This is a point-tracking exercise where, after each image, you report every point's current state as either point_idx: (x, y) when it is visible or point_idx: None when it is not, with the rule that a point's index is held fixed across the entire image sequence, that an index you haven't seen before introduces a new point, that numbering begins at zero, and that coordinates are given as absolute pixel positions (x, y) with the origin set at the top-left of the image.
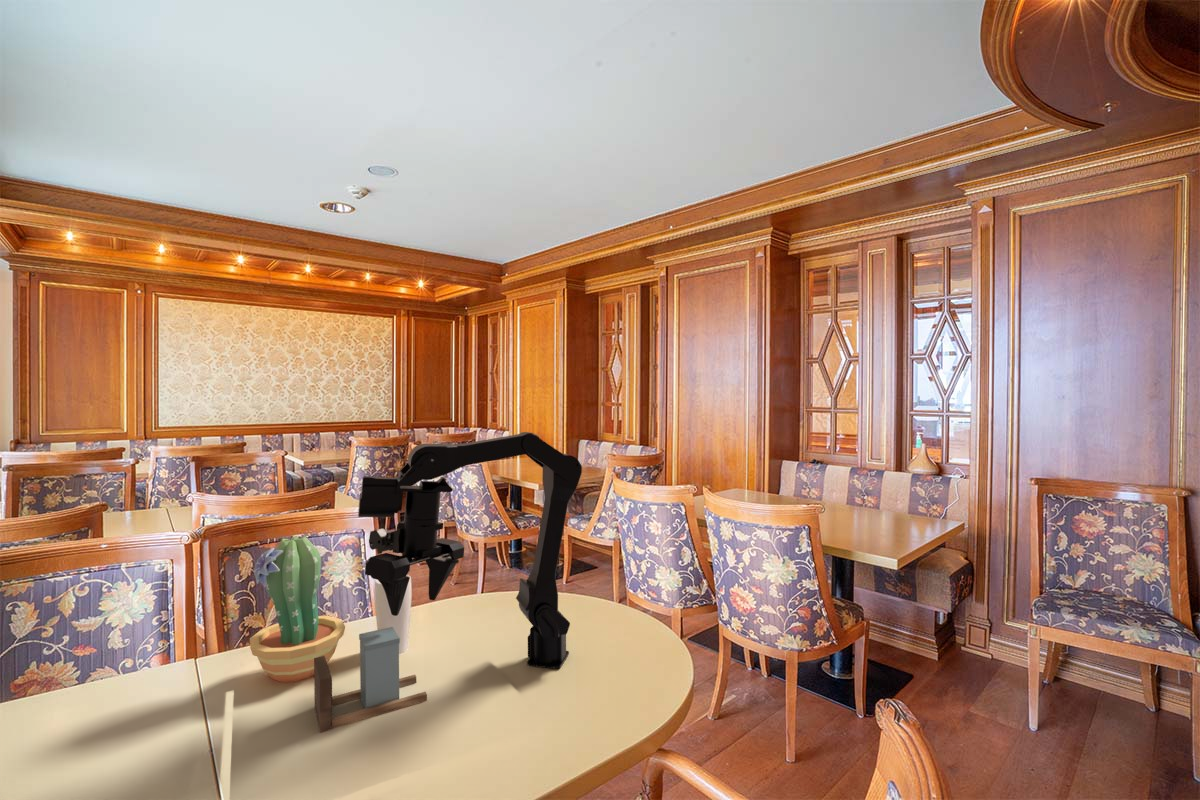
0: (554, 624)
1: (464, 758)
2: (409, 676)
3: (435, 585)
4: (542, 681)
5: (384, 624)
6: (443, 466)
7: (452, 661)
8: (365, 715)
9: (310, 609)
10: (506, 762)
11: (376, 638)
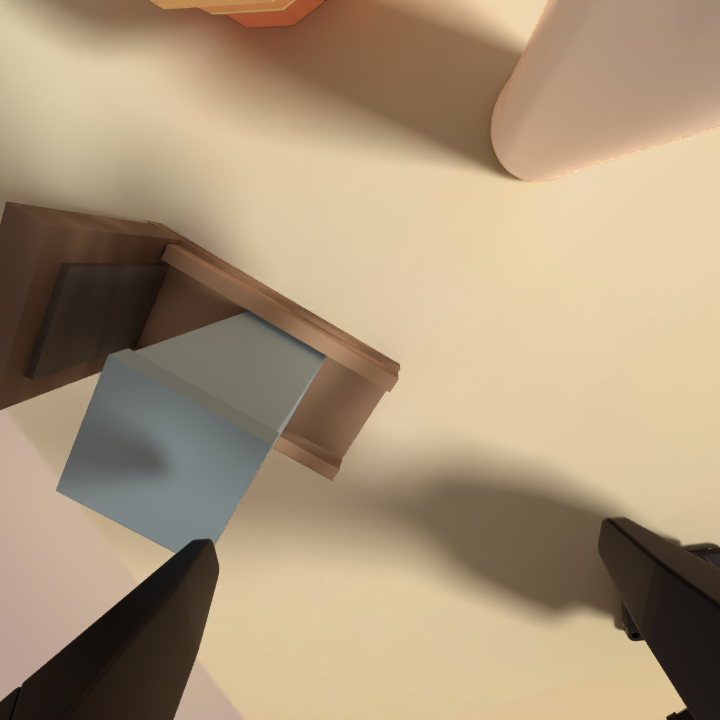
0: None
1: (249, 618)
2: (381, 372)
3: (708, 685)
4: (554, 621)
5: (536, 76)
6: None
7: (574, 358)
8: None
9: None
10: (278, 676)
11: (135, 476)
